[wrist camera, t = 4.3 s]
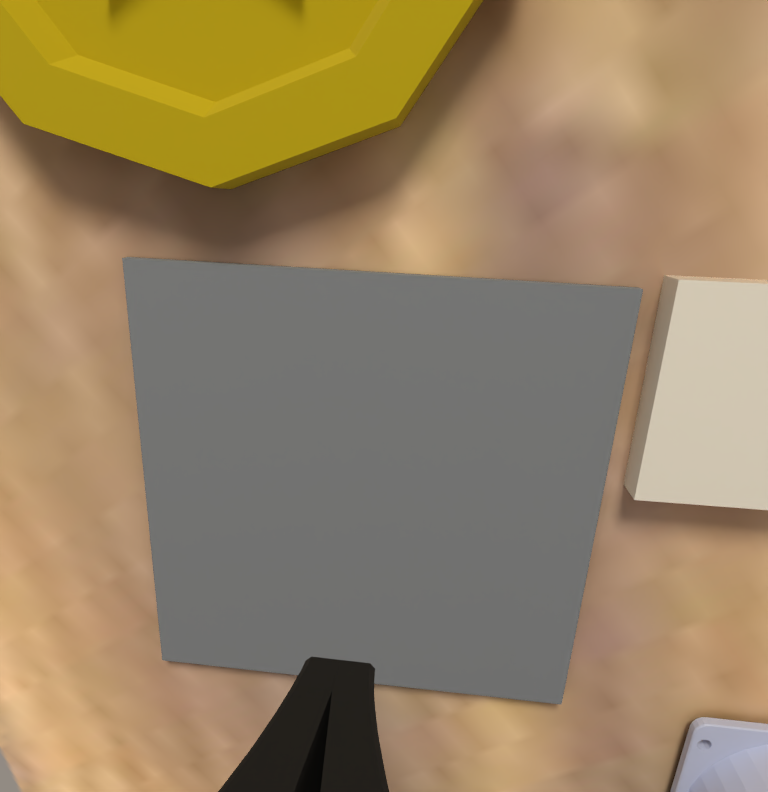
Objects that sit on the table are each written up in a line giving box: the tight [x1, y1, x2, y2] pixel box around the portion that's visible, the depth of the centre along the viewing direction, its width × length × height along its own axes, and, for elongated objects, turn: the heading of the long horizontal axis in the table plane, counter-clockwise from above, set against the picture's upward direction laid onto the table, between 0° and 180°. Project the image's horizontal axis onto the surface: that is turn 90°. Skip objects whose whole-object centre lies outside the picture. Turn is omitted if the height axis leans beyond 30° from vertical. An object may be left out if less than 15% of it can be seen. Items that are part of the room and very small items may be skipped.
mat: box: [122, 257, 643, 704], centre depth 20 cm, size 16×16×1 cm
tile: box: [624, 275, 768, 510], centre depth 18 cm, size 7×2×6 cm
